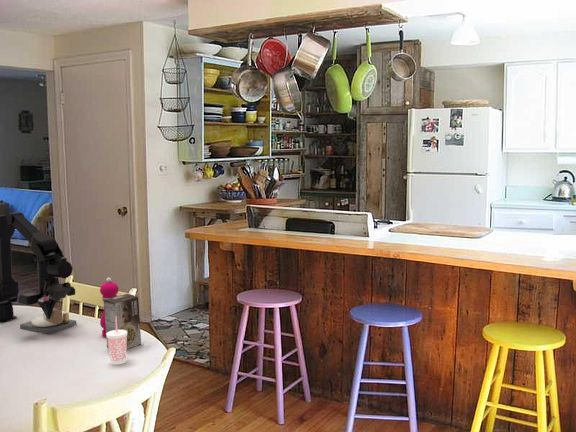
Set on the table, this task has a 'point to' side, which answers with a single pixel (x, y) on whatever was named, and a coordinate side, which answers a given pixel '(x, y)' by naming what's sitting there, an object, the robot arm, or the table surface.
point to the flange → (44, 322)
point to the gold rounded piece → (65, 318)
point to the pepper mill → (108, 292)
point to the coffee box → (124, 317)
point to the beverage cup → (117, 345)
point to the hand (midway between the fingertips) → (48, 318)
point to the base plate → (47, 329)
